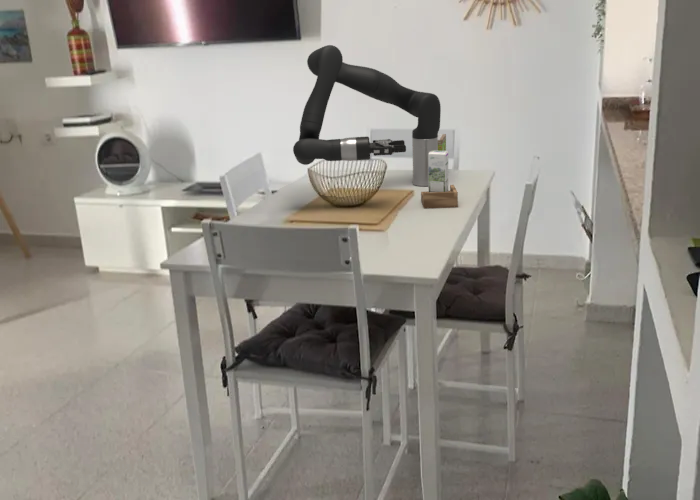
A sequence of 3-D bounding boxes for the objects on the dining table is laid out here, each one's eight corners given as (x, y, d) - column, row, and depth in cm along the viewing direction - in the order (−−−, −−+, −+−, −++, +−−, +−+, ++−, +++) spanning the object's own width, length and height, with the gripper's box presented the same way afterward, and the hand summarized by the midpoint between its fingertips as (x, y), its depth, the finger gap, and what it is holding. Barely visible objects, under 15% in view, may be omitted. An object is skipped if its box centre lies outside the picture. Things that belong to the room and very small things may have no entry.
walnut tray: (421, 200, 253) (420, 185, 251) (453, 199, 252) (453, 184, 251) (423, 208, 242) (423, 193, 241) (457, 207, 242) (457, 192, 240)
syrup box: (448, 193, 248) (448, 150, 244) (445, 197, 243) (445, 153, 238) (431, 192, 250) (431, 149, 245) (428, 196, 244) (427, 153, 240)
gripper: (354, 141, 234) (406, 138, 234) (354, 133, 248) (403, 130, 247) (355, 164, 237) (407, 161, 236) (356, 156, 250) (404, 153, 250)
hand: (405, 145), depth 242 cm, fingers open, 8 cm apart
